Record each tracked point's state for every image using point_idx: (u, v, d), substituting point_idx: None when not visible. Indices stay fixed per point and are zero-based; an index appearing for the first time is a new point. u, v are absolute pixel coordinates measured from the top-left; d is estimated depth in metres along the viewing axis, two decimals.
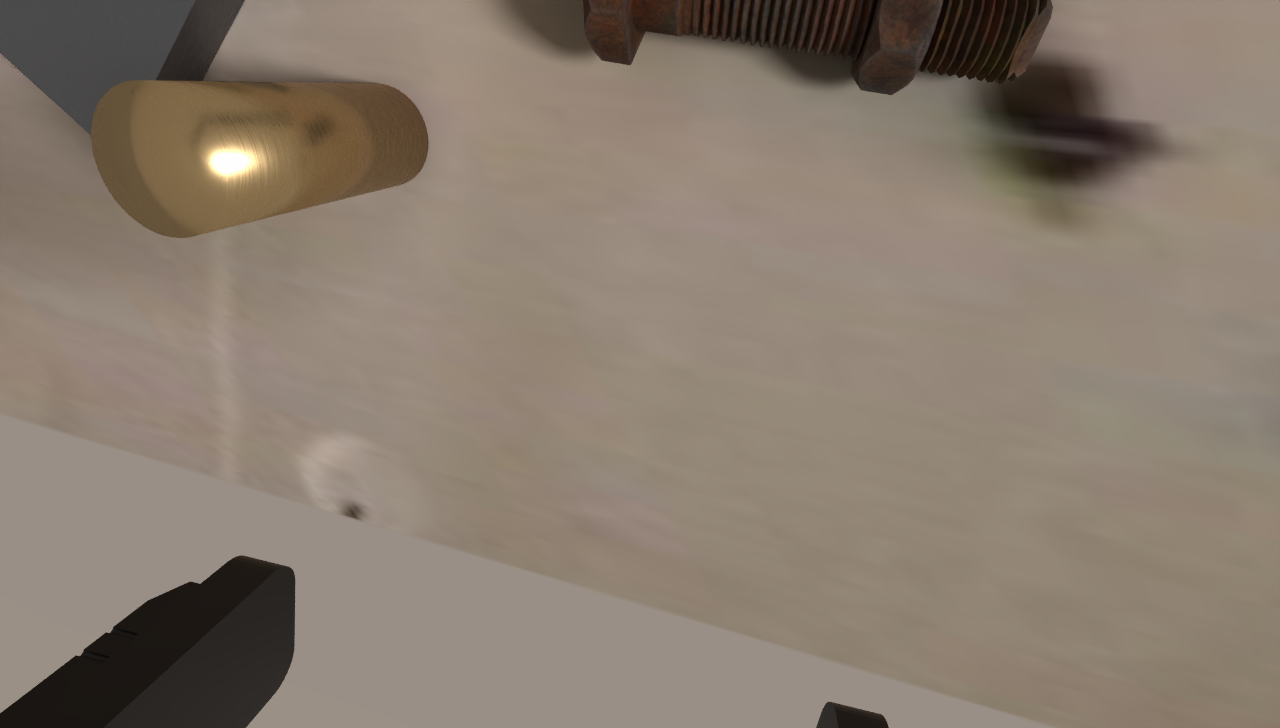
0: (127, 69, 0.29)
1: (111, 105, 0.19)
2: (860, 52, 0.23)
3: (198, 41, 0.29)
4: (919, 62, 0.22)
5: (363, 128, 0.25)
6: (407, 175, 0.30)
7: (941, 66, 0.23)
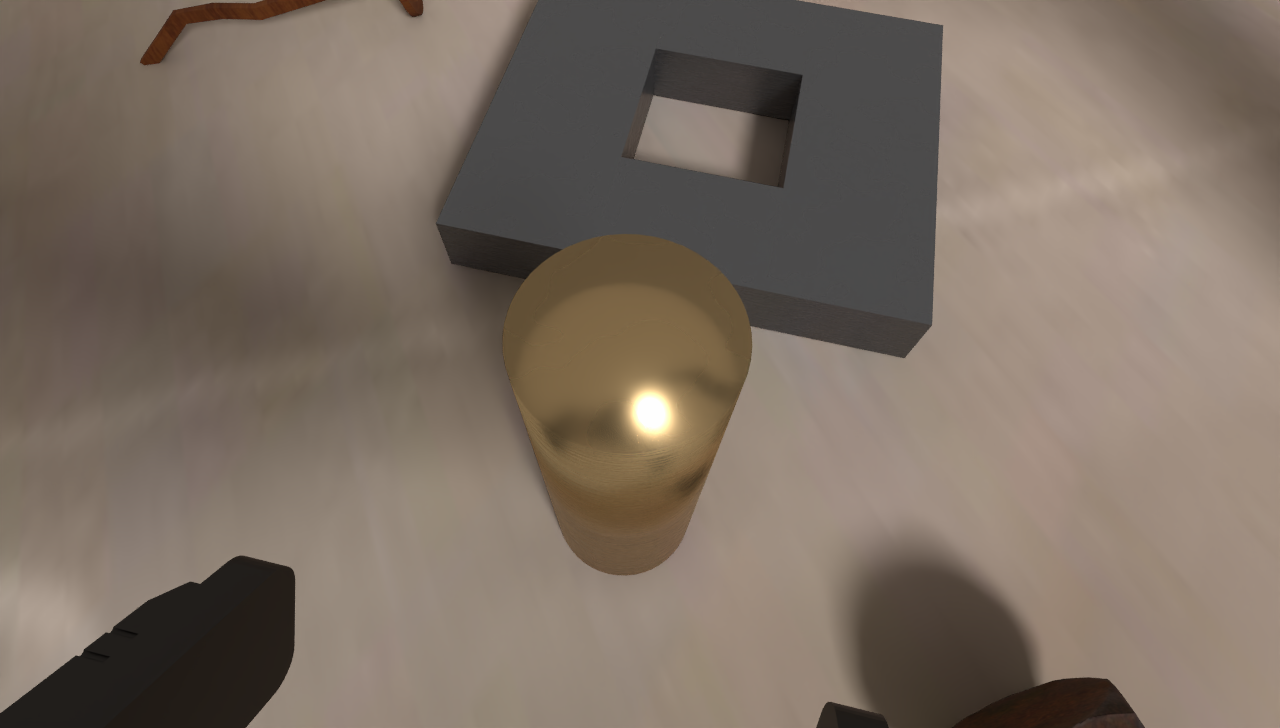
0: (549, 218, 0.25)
1: (668, 255, 0.13)
2: None
3: None
4: None
5: (685, 518, 0.18)
6: (605, 567, 0.21)
7: None
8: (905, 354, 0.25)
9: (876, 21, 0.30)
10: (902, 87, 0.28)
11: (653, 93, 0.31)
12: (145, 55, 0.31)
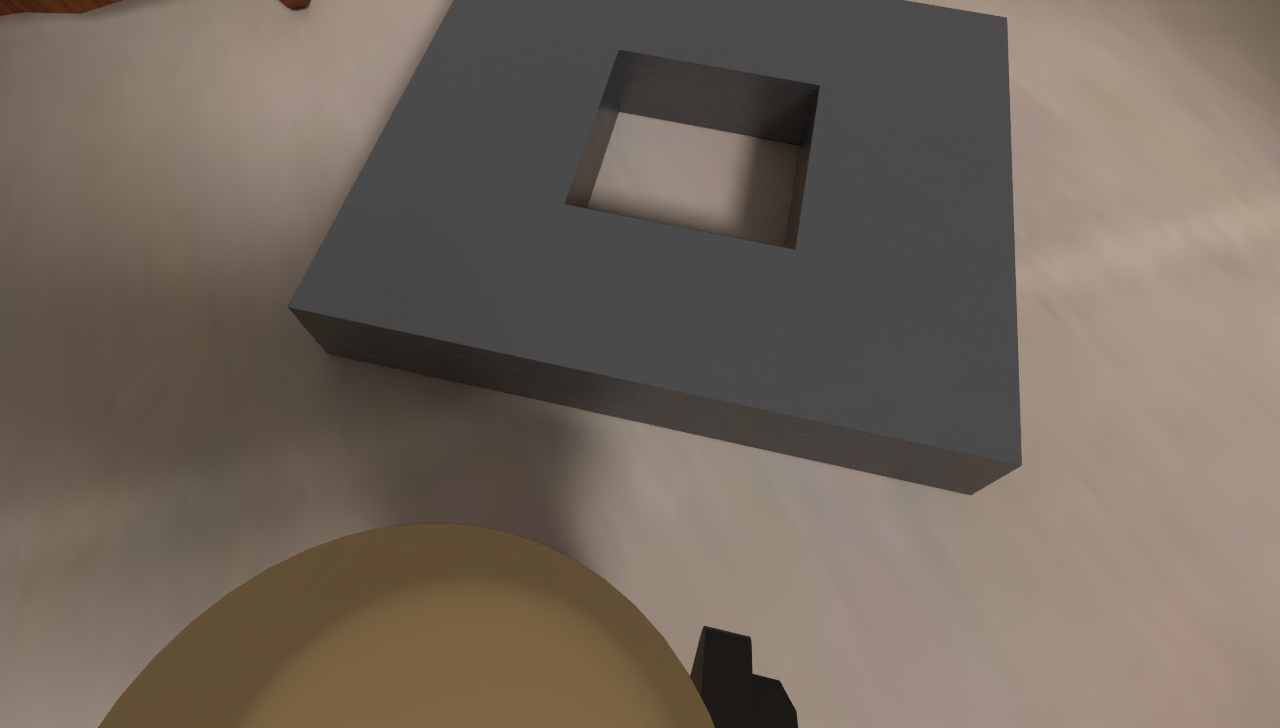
0: (455, 297, 0.17)
1: (533, 589, 0.05)
2: None
3: (551, 383, 0.17)
4: None
5: None
6: None
7: None
8: (973, 491, 0.17)
9: (917, 12, 0.22)
10: (957, 102, 0.21)
11: (618, 109, 0.23)
12: None
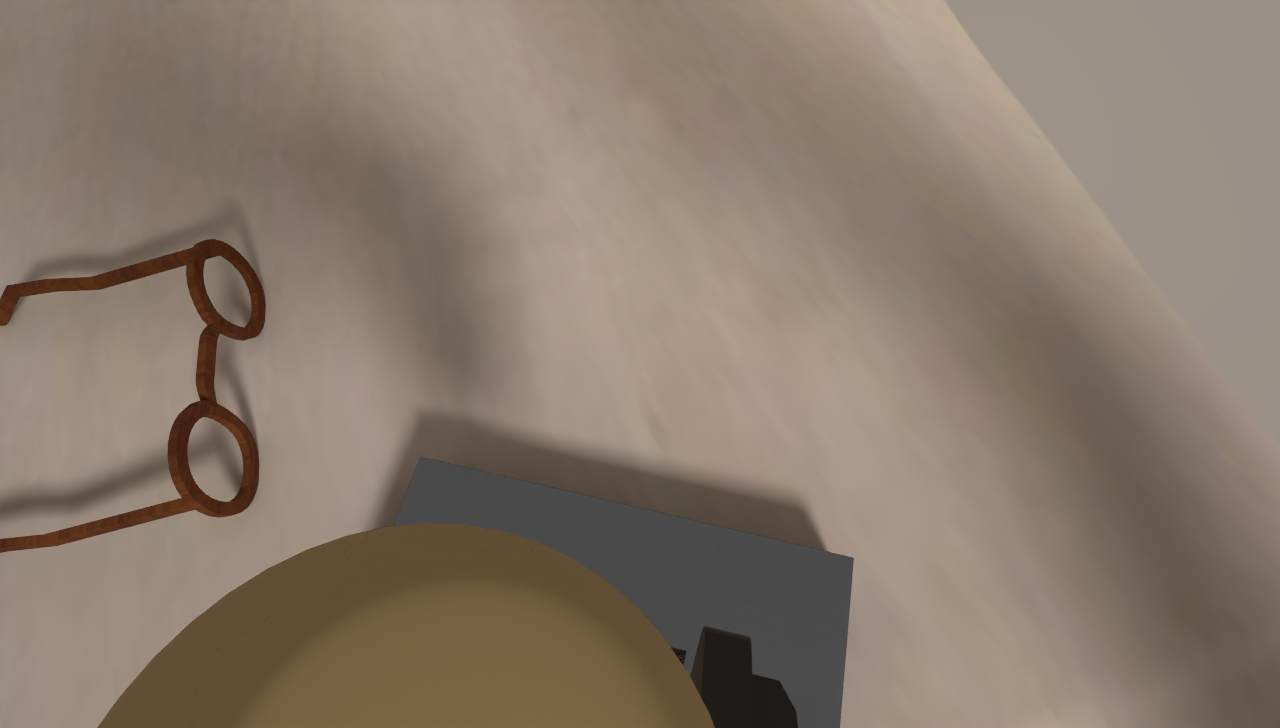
0: None
1: (532, 589, 0.05)
2: None
3: None
4: None
5: None
6: None
7: None
8: None
9: (777, 553, 0.27)
10: (800, 669, 0.25)
11: None
12: None
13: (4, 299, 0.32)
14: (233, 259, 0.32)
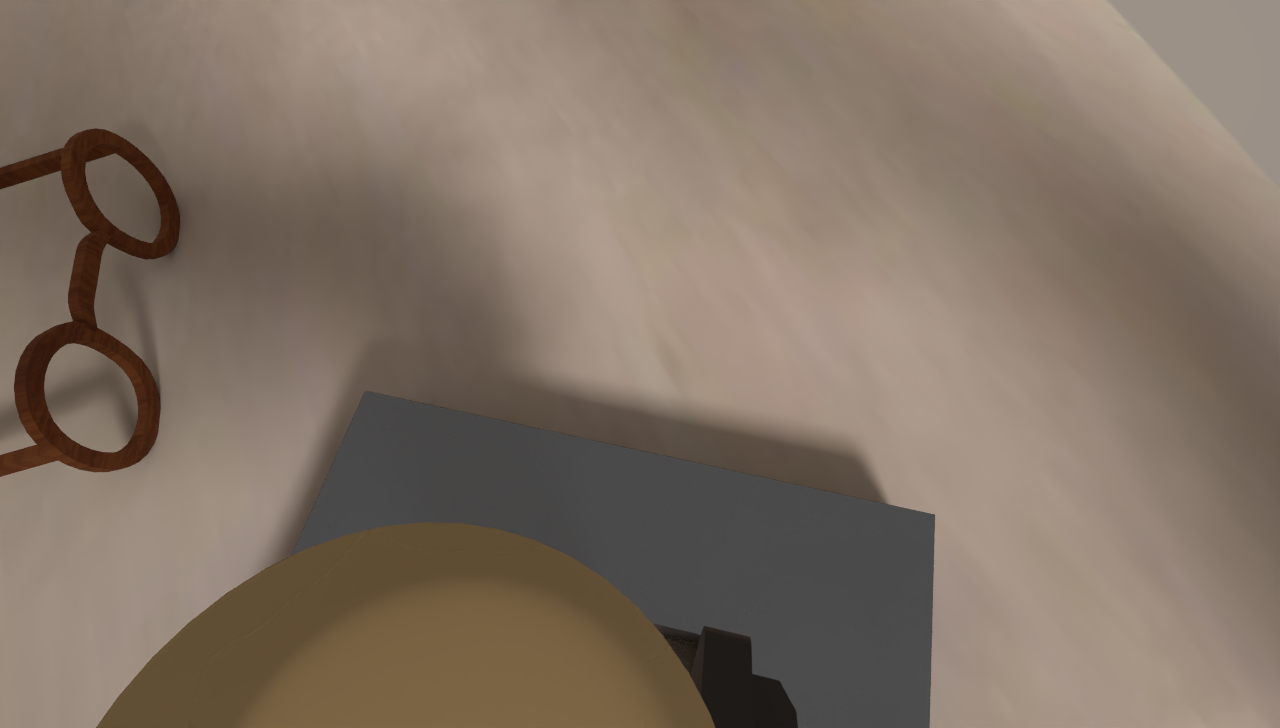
0: None
1: (532, 588, 0.05)
2: None
3: None
4: None
5: None
6: None
7: None
8: None
9: (833, 509, 0.20)
10: (870, 663, 0.18)
11: None
12: None
13: None
14: (134, 159, 0.26)
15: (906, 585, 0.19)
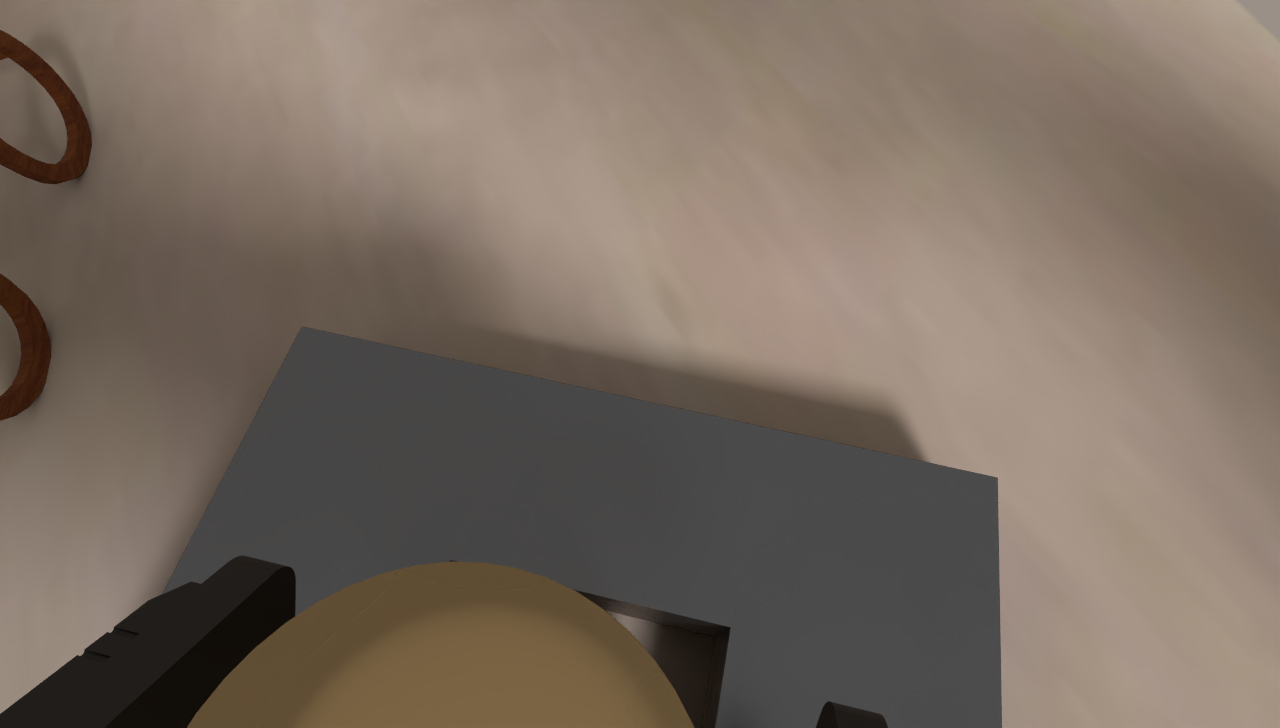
0: None
1: (543, 619, 0.06)
2: None
3: None
4: None
5: None
6: None
7: None
8: None
9: (874, 470, 0.16)
10: (925, 658, 0.14)
11: None
12: None
13: None
14: (32, 67, 0.22)
15: (966, 563, 0.15)
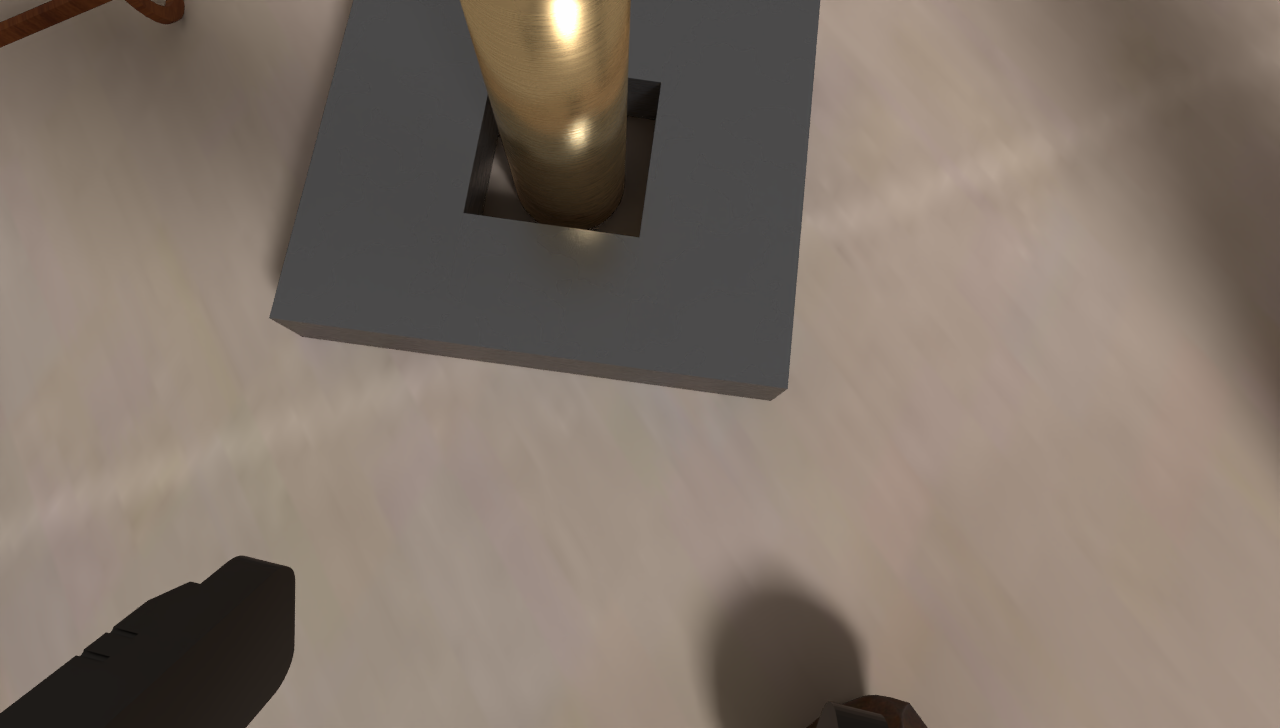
0: (390, 299, 0.23)
1: None
2: None
3: (470, 352, 0.24)
4: None
5: (613, 150, 0.22)
6: (558, 220, 0.26)
7: None
8: (770, 399, 0.25)
9: None
10: (770, 90, 0.26)
11: None
12: None
13: None
14: None
15: (797, 43, 0.26)
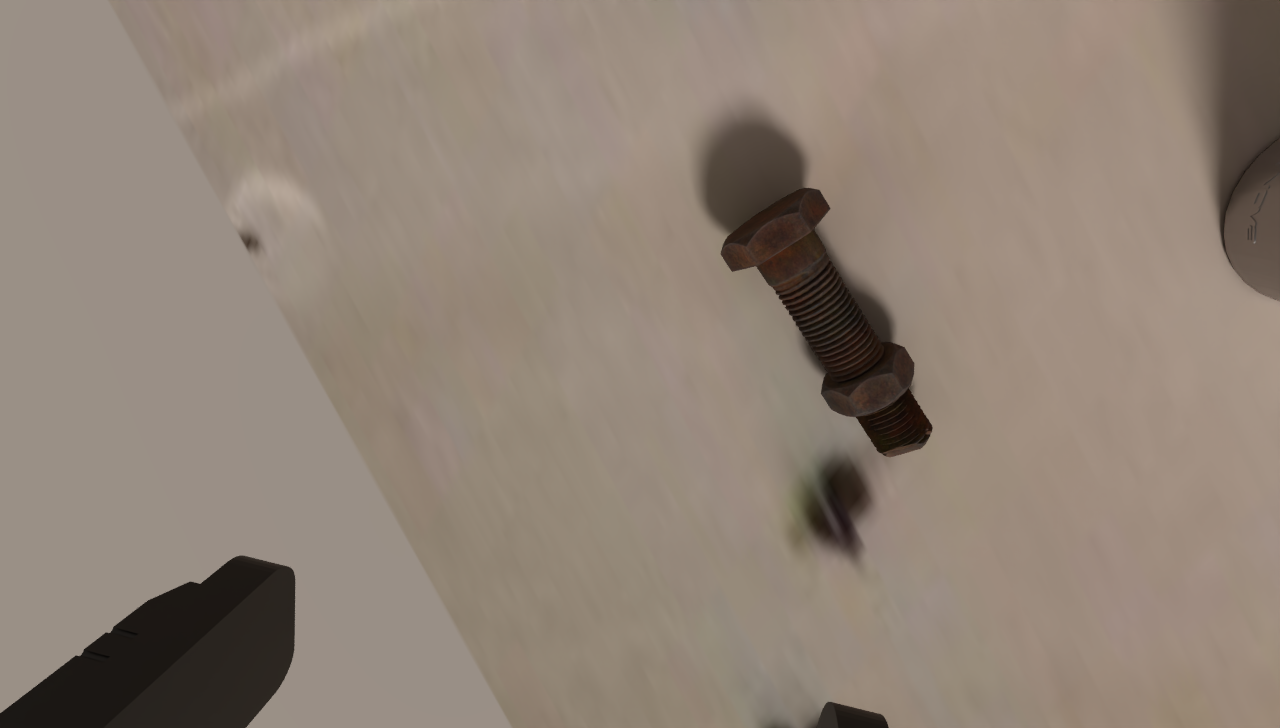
0: None
1: None
2: (837, 381, 0.36)
3: None
4: (856, 416, 0.35)
5: None
6: None
7: (862, 420, 0.37)
8: None
9: None
10: None
11: None
12: None
13: None
14: None
15: None
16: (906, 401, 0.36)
